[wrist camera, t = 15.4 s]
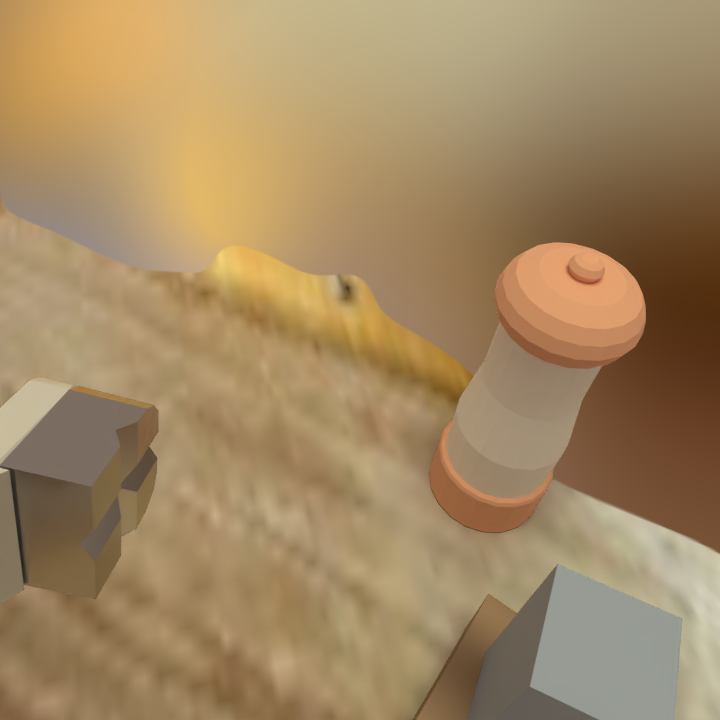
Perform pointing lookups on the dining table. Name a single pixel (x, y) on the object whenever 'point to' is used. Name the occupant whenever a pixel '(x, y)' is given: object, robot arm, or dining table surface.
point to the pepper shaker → (533, 381)
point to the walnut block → (465, 664)
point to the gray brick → (581, 657)
